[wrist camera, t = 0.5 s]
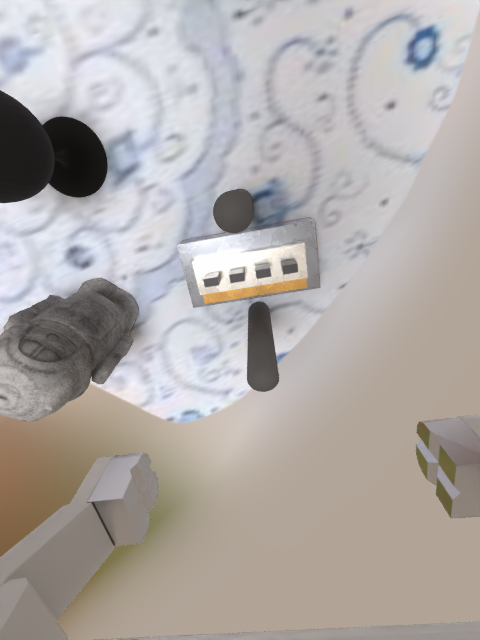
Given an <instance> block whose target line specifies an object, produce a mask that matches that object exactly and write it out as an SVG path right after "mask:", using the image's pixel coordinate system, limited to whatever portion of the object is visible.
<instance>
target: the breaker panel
mask: <svg viewBox="0 0 480 640" xmlns="http://www.w3.org/2000/svg"><path fill="white" fill-rule="evenodd" d="M177 246H178V250H179V254H180V258H181V262H182V265H183V269H184V273H185V277H186V281H187V285H188V289H189V292H190V296H191V300H192V304H193V308H195V307H201V306H208V305H214V304H220V303H227V302H233V301H239V300H246V299H252V298H258V297H264V296H271V295H277V294H283V293H290V292H296V291H302V290H309V289H315V288H320V277H319V264H318V251H317V238H316V226H315V220H314V219H312V218H310V217H309V218H303V219H298V220H293V221H287V222H282V223H276V224H271V225H265V226H260V227H254V228H249V229H245V230H243V231H241V232H238V233H229V232H227V233H221V234H216V235H210V236H205V237H199V238H194V239H188V240H183V241H182V242H180V243H179V244H178V245H177ZM290 259H295V260H296V262H297V264H298V272H297V273H291V274H285V275H283V272H282V270H281V262H280V261H284V260H290ZM267 263H269V265H270V270H271V277H266V278H260V279H257V278H256V271H255V265H261V264H267ZM243 267H244V270H245V281H242V282H236V283H230V278H229V273H230V270H231V269H237V268H243ZM214 272H219V273H220V277H221V281H220V284H219V285H218V286H212V287H206V288H205V286H204V282H203V278H204V276H205V274H208V273H214Z"/></svg>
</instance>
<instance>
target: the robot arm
mask: <svg viewBox="0 0 480 640" xmlns="http://www.w3.org/2000/svg"><path fill="white" fill-rule="evenodd" d="M417 433H418V435H419V437H420V438H421V440H420V441H419V442H418V443H417V444H416V455H417V459H418V463H419V466H420V468H421V470H422V472H423V474H424V475H425V477H426V479H427V480H428V481H430V482H431V483H433V484H434V485H436V486H437V488H436V495H437V497H438V498H439V500H440V502H441V503H442V505H443V506H444V508H445V510H446V511H447V513H448V514H449V516H450V518H466V517H480V416H478V415H467V416H460V417H456V418H455V417H454V418H445V419H436V420H428V421H421V422H419V423H418V425H417ZM150 463H151V460H150V458H149V456H148V454H146V453H138V454H127V455H116V456H107V457H100V458H98V459H97V460H96V461H95V463H94V464H93V466H92V468H91V469H90V471H89V473H88V474H87V476H86V477H85V479H84V481H83V482H82V484H81V486H80V487H79V489H78V491H77V492H76V494H75V496H74V498H73V499H72V501H71V502H70V504H69V505H64V506H63V507H62V508H60V509H59V510H58V511H57V512H55V513H54V514H53V515H52V516H50V517H49V518H48V519H47V520H46V521H45V522H43V523H42V524H41V525H40V526H39V527H37V528H36V529H35V530H33V531H32V532H31V533H30V534H28V535H27V536H26V537H25V538H23V539H22V540H21V541H20V542H19V543H17V544H16V545H15V546H14V547H12V548H11V549H10V550H9V551H8V552H6V553H5V554H4V555H3V556H1V557H0V640H68V637H67V633H66V632H65V630H64V629H63V628H62V627H61V625H60V624H59V622H58V621H57V620H58V618H59V617H60V616H61V615H62V613H63V612H64V611H65V610H66V608H67V607H68V606H69V605H70V603H71V602H72V601H73V600H74V598H75V597H76V596H77V594H78V593H79V592H80V591H81V590H82V589H83V587H84V586H85V585H86V584H87V582H88V581H89V580H90V579H91V577H92V576H93V575H94V573H95V572H96V571H97V570H98V569H99V567H100V566H101V565H102V564H103V562H104V561H105V560H106V559H107V557H108V556H109V555H110V553H111V552H112V551H113V550H114V549H115V547H114V546H123V545H132V544H139V543H143V541H144V538H145V535H146V532H147V529H148V526H149V523H150V518H149V515H148V512H149V511H150V510H151V509H152V508H153V507H154V506H155V504H156V500H157V497H158V486H159V485H158V479H157V476H156V473H155V472H154V471H153V470H151V469H150V468H149V466H150ZM95 640H480V621H479V622H457V623H435V624H414V625H393V626H372V627H348V628H327V629H306V630H285V631H264V632H243V633H222V634H201V635H180V636H159V637H138V638H117V639H95Z"/></svg>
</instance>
